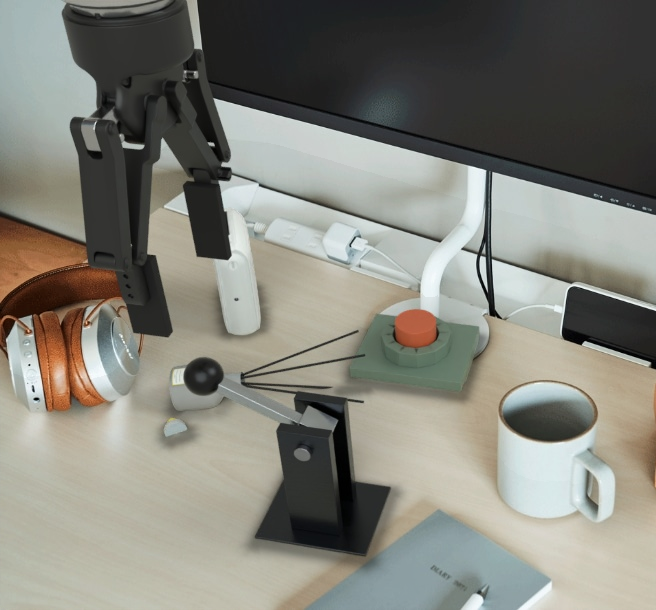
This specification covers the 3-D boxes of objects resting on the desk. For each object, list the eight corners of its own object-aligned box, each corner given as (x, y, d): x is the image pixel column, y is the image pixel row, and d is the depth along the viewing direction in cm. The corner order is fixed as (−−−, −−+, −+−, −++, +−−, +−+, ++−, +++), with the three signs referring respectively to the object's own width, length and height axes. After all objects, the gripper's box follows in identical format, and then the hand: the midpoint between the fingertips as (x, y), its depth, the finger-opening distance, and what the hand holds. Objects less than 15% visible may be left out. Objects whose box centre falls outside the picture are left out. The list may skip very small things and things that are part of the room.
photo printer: (264, 334, 105) (250, 241, 98) (226, 340, 104) (208, 247, 97) (256, 285, 113) (242, 196, 106) (220, 290, 112) (204, 200, 105)
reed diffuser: (163, 339, 94) (359, 316, 94) (185, 370, 99) (369, 347, 100) (156, 432, 88) (364, 407, 89) (180, 458, 94) (374, 434, 95)
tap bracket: (256, 545, 80) (235, 438, 73) (288, 479, 87) (272, 375, 79) (366, 564, 79) (356, 456, 71) (391, 495, 85) (384, 390, 78)
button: (390, 346, 98) (389, 330, 97) (401, 321, 101) (400, 306, 100) (431, 351, 97) (430, 335, 96) (440, 326, 101) (440, 311, 99)
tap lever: (172, 392, 75) (181, 367, 73) (189, 368, 77) (199, 342, 75) (317, 462, 76) (329, 438, 74) (329, 435, 79) (342, 412, 77)
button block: (350, 384, 98) (348, 354, 96) (377, 328, 106) (375, 300, 104) (461, 399, 96) (460, 369, 94) (479, 341, 104) (479, 313, 102)
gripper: (82, 67, 48) (163, 392, 61) (250, -46, 66) (284, 224, 79) (-47, 55, 49) (59, 377, 62) (152, -53, 67) (202, 215, 80)
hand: (185, 291), depth 70 cm, fingers open, 10 cm apart
